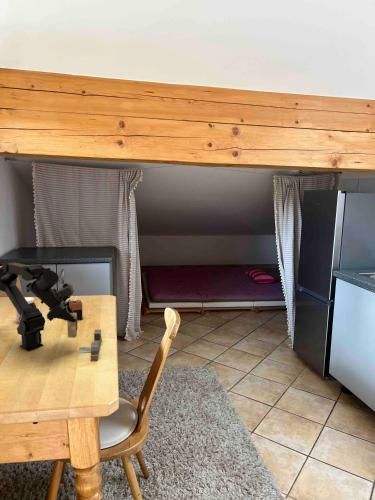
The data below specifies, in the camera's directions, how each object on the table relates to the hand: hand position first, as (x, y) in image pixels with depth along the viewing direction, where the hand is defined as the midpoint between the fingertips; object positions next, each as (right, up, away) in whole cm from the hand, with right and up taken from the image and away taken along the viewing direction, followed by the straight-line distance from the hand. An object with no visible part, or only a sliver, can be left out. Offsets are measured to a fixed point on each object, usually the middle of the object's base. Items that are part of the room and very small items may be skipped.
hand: (75, 319), depth 133 cm
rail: (+5, -13, +3) cm, 14 cm away
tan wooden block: (-2, -6, +1) cm, 7 cm away
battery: (-12, -7, +35) cm, 38 cm away
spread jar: (-31, -8, +31) cm, 44 cm away
